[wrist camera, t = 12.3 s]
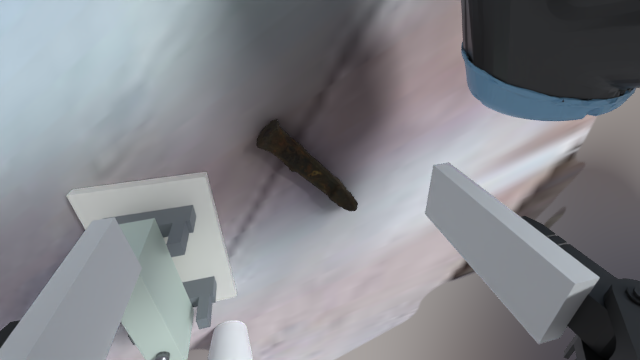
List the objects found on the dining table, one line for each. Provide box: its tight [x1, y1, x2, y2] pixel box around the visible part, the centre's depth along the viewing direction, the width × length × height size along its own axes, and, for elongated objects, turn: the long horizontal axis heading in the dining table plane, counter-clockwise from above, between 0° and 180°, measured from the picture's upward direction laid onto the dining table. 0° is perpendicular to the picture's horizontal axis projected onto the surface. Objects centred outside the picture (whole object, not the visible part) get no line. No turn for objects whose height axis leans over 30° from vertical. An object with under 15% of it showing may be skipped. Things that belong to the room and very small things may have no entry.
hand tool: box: [256, 119, 358, 211], centre depth 41 cm, size 19×4×5 cm, turn 41°
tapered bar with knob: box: [119, 218, 194, 360], centre depth 36 cm, size 4×18×9 cm, turn 3°
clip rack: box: [66, 172, 237, 345], centre depth 40 cm, size 16×24×9 cm, turn 2°
